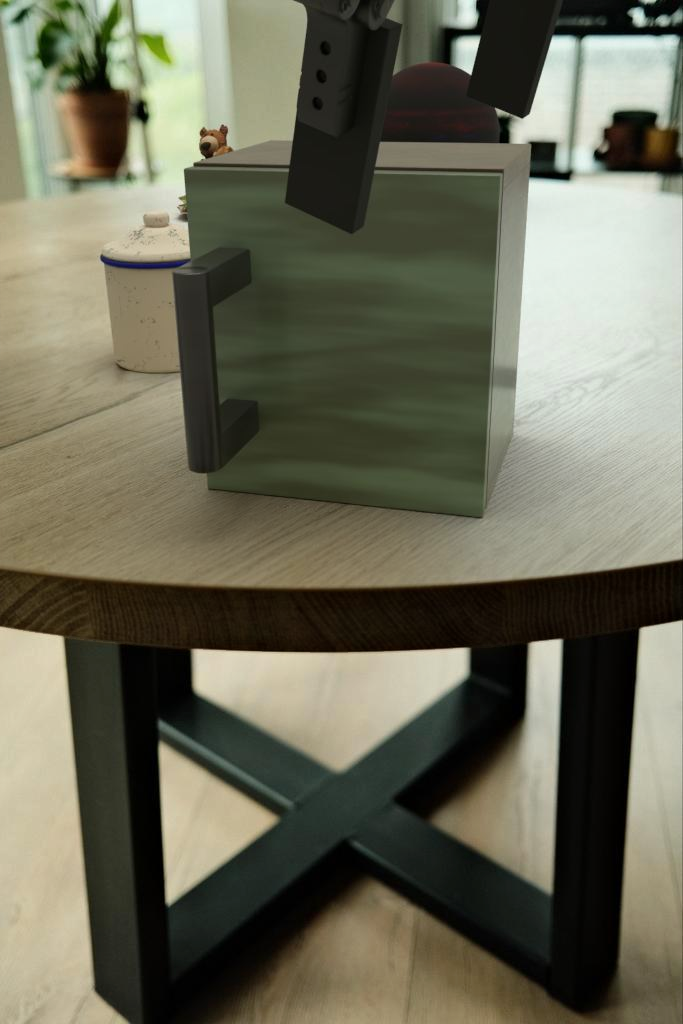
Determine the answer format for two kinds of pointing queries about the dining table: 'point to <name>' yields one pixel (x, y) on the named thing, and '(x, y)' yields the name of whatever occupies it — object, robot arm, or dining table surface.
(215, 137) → the bear figurine
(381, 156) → the cupboard
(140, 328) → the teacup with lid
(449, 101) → the decorative orb
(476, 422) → the door
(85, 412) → the dining table surface
